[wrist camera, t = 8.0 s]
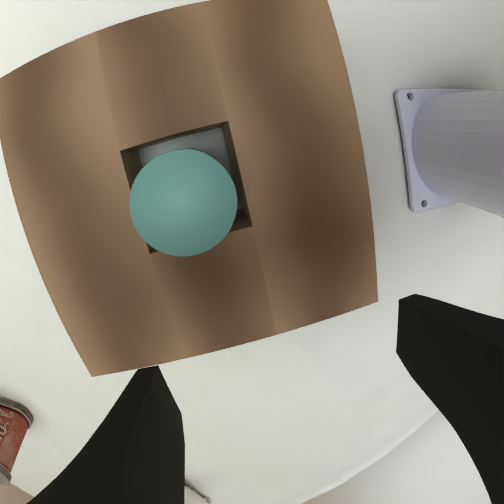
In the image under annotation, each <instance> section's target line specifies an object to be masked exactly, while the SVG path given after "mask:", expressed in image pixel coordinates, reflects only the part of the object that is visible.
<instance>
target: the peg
mask: <svg viewBox="0 0 504 504" xmlns="http://www.w3.org/2000/svg"><path fill="white" fill-rule="evenodd" d="M129 207H130V214H131V218H132V221H133V224H134V226H135V228H136V230H137V232H138V233H139V235H140V236H141V237H142V238H143V239H144V240H145V241H146V242H147V243H148V244H149V245H150V246H151V247H153V248H155V249H156V250H158V251H160V252H162V253H165V254H168V255H173V256H193V255H198V254H200V253H203V252H206V251H208V250H210V249H211V248H213V247H214V246H216V245H217V244H218V243H219V242H220V241H221V240H222V239H223V238H224V237H225V236H226V235H227V233H228V232H229V230H230V228H231V226H232V224H233V222H234V219H235V216H236V211H237V194H236V189H235V186H234V183H233V181H232V179H231V177H230V175H229V174H228V172H227V171H226V169H225V168H224V167H223V166H222V165H221V164H220V163H219V162H218V161H217V160H215V159H214V158H212V157H211V156H209V155H208V154H206V153H205V152H202V151H200V150H197V149H181V150H173V151H169V152H166V153H163V154H161V155H159V156H157V157H155V158H154V159H152V160H151V161H150V162H148V163H147V164H146V165H145V166H144V167H143V168H142V170H141V171H140V172H139V174H138V175H137V177H136V179H135V181H134V183H133V185H132V189H131V192H130V199H129Z"/></svg>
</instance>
